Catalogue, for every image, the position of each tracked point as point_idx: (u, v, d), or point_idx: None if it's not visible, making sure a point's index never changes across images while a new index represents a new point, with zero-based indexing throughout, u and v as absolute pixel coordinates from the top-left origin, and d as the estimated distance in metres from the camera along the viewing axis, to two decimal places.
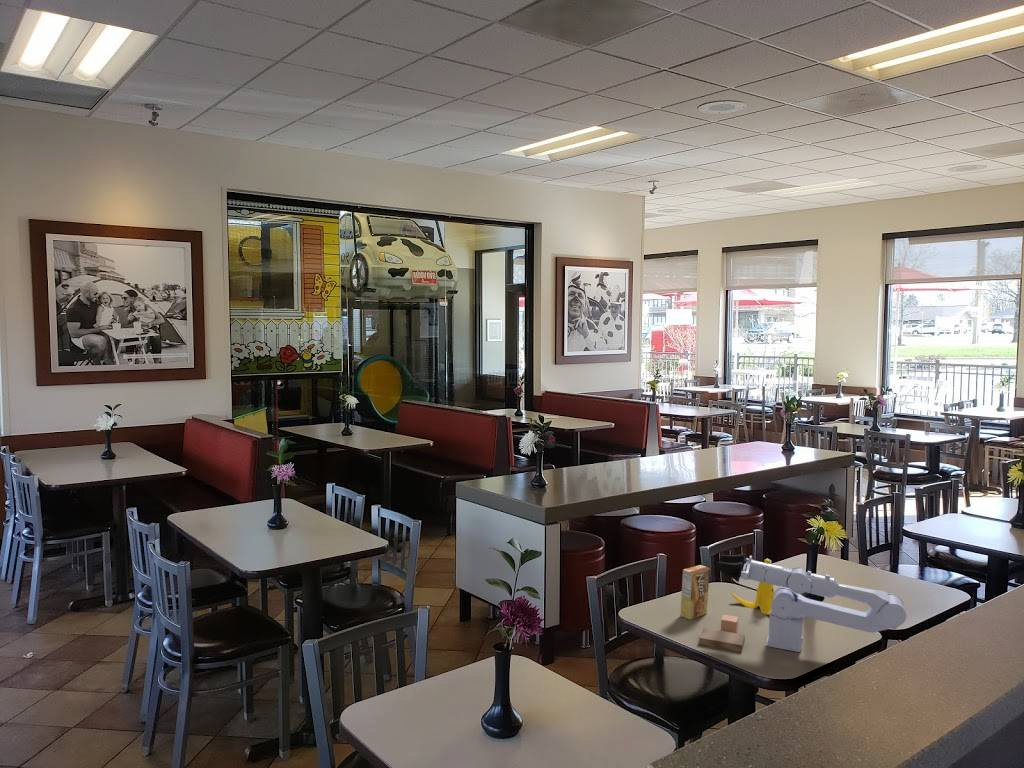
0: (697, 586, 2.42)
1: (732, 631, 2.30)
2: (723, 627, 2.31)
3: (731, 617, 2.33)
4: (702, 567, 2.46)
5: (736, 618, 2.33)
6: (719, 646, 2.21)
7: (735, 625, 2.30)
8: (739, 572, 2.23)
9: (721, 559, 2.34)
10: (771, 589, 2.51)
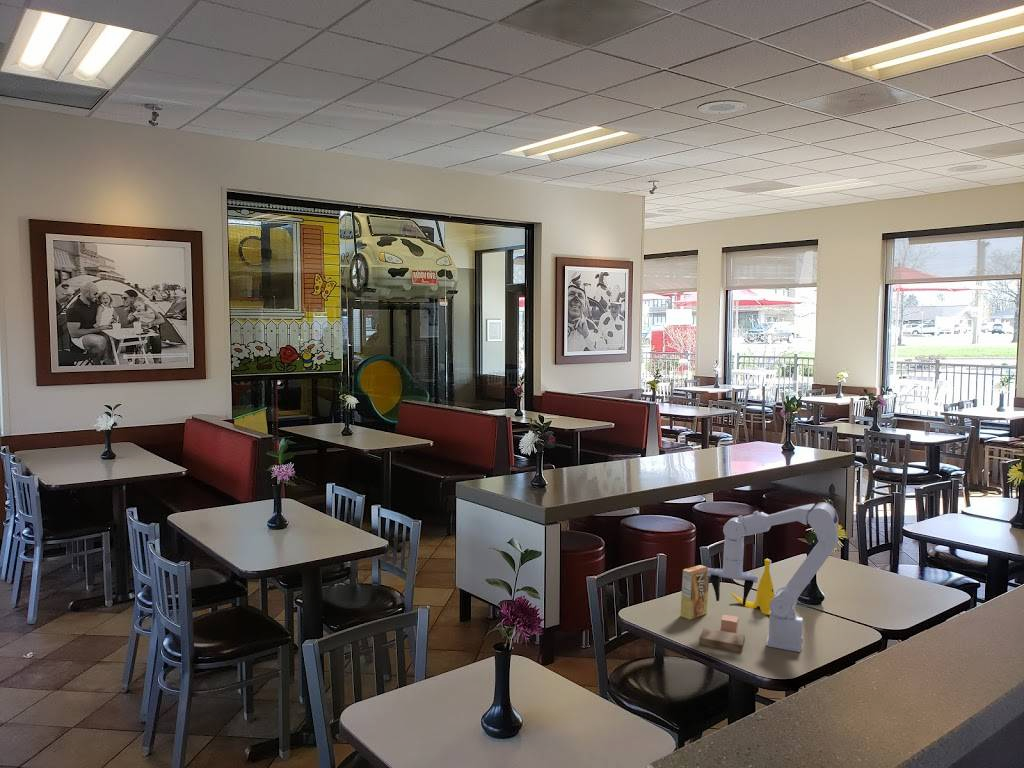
0: (697, 586, 2.42)
1: (732, 631, 2.30)
2: (723, 627, 2.31)
3: (731, 617, 2.33)
4: (702, 567, 2.46)
5: (736, 618, 2.33)
6: (719, 646, 2.21)
7: (735, 625, 2.30)
8: None
9: None
10: (771, 589, 2.51)
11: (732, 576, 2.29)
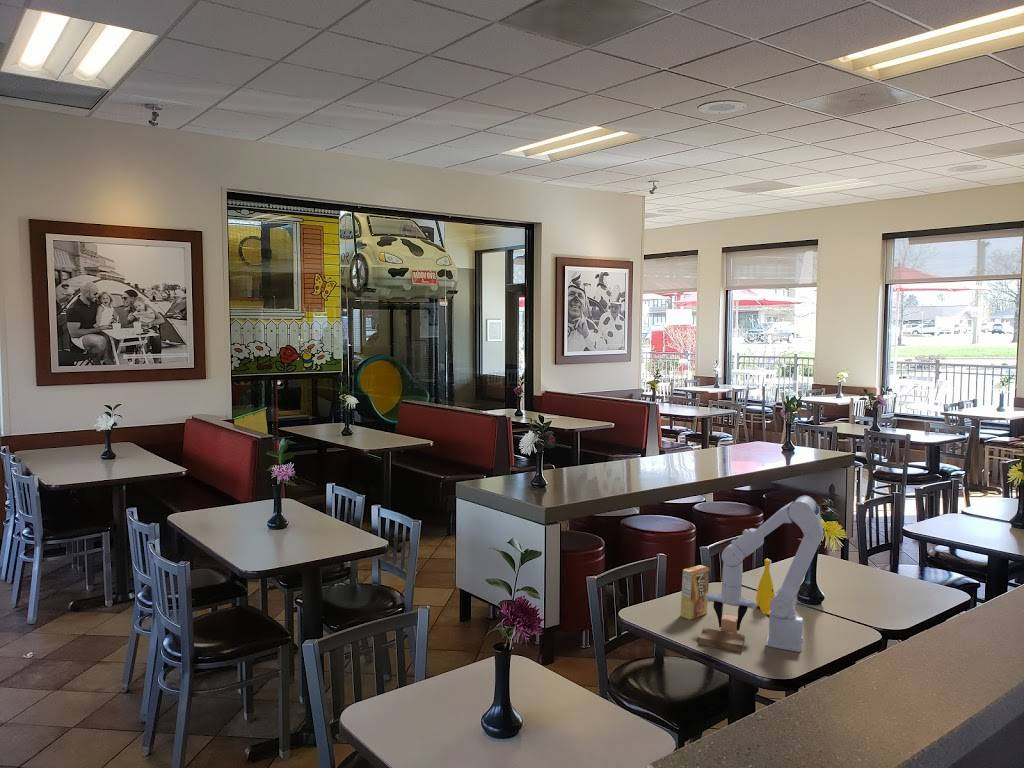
0: (697, 586, 2.42)
1: (732, 631, 2.30)
2: (723, 626, 2.31)
3: (731, 617, 2.33)
4: (702, 567, 2.46)
5: (736, 618, 2.33)
6: (719, 646, 2.21)
7: (735, 625, 2.30)
8: None
9: None
10: (771, 589, 2.51)
11: (731, 602, 2.29)
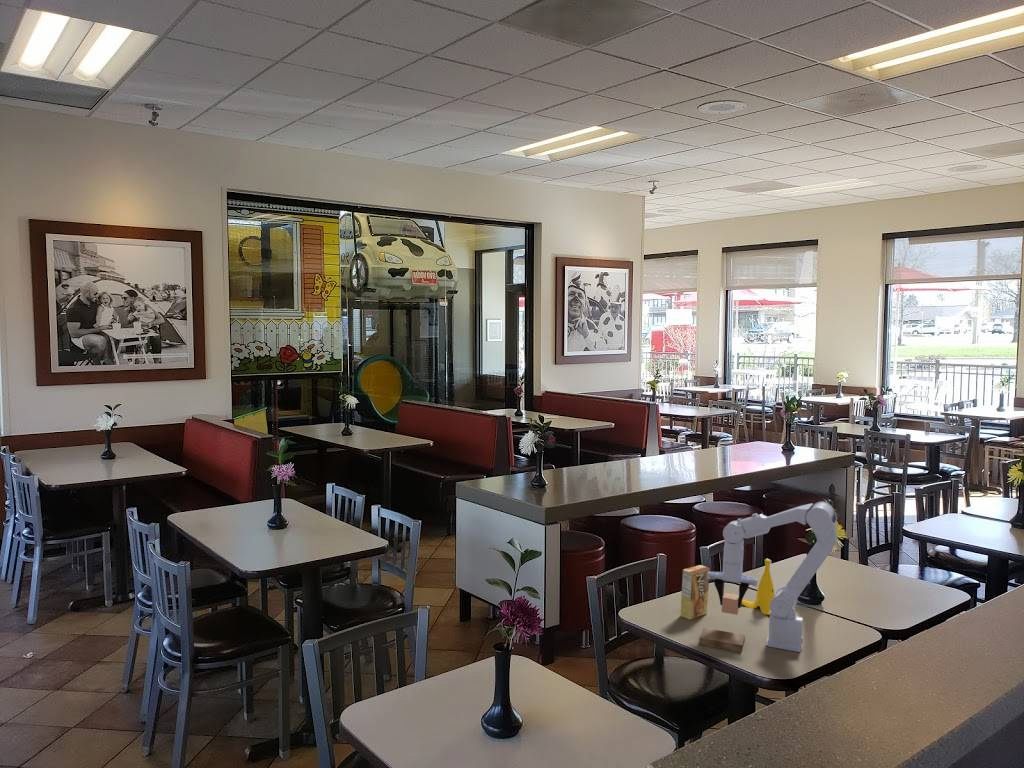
0: (697, 586, 2.42)
1: (733, 609, 2.30)
2: (724, 605, 2.31)
3: (732, 595, 2.33)
4: (702, 567, 2.46)
5: (737, 596, 2.32)
6: (719, 646, 2.21)
7: (736, 603, 2.29)
8: None
9: (738, 605, 2.31)
10: (771, 589, 2.51)
11: (732, 579, 2.29)
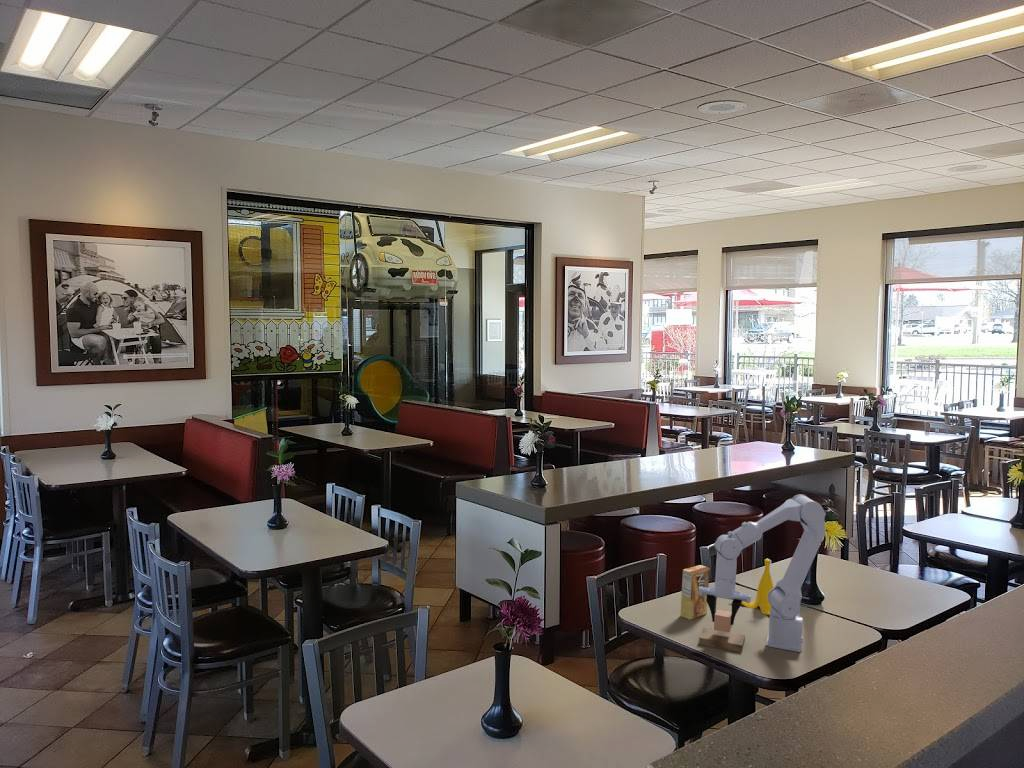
0: (697, 586, 2.42)
1: (726, 627, 2.22)
2: (716, 622, 2.23)
3: (725, 612, 2.25)
4: (702, 567, 2.46)
5: (730, 613, 2.25)
6: (719, 646, 2.21)
7: (729, 620, 2.22)
8: None
9: None
10: (771, 589, 2.51)
11: (724, 596, 2.21)
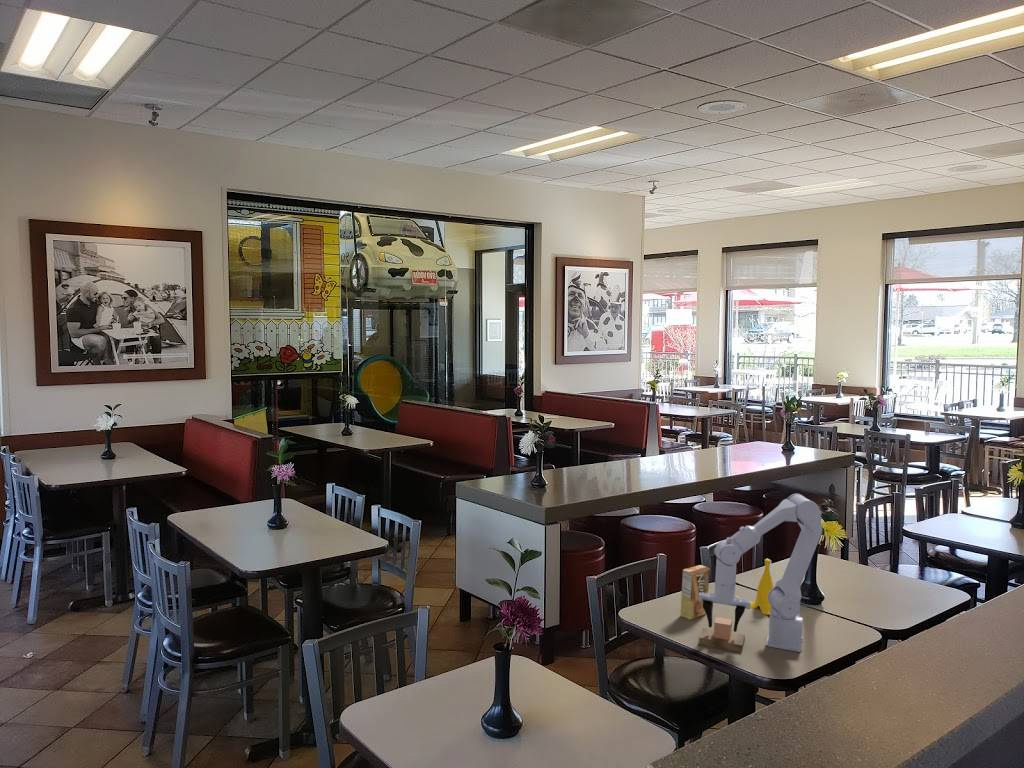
0: (697, 586, 2.42)
1: (726, 634, 2.23)
2: (716, 630, 2.23)
3: (724, 620, 2.25)
4: (702, 567, 2.46)
5: (730, 621, 2.25)
6: (719, 646, 2.21)
7: (729, 628, 2.22)
8: None
9: None
10: (771, 589, 2.51)
11: (724, 602, 2.21)
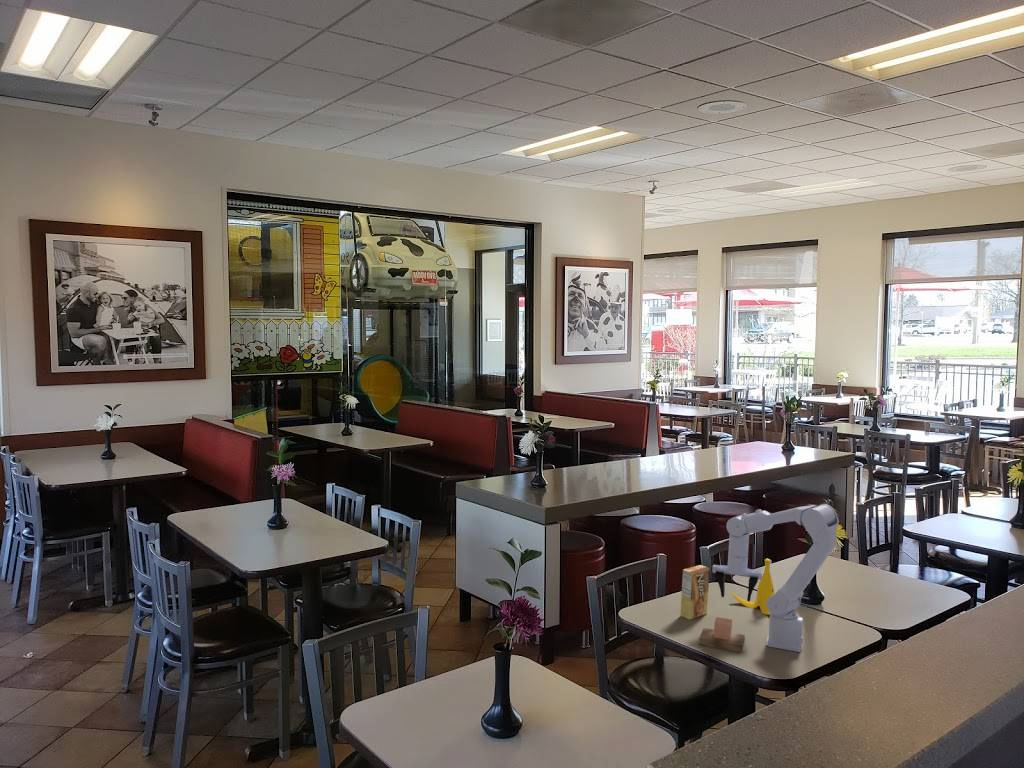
0: (697, 586, 2.42)
1: (726, 634, 2.23)
2: (716, 630, 2.23)
3: (724, 620, 2.25)
4: (702, 567, 2.46)
5: (730, 621, 2.25)
6: (719, 646, 2.21)
7: (729, 628, 2.22)
8: None
9: None
10: (771, 589, 2.51)
11: (737, 573, 2.32)
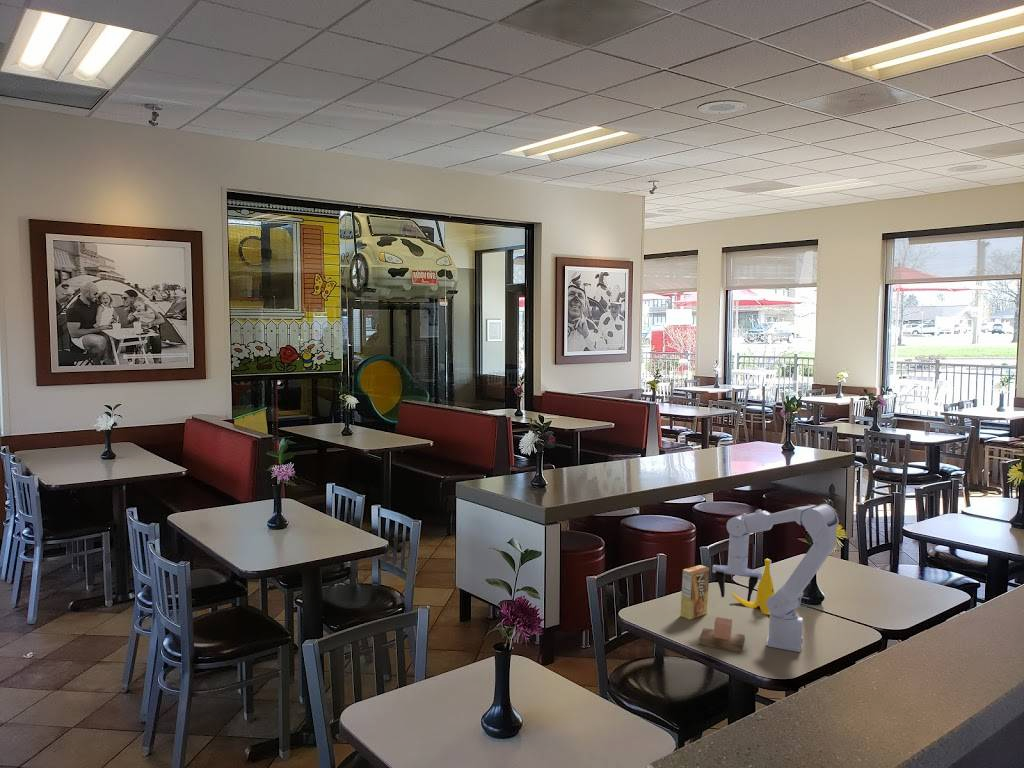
0: (697, 586, 2.42)
1: (726, 634, 2.23)
2: (716, 630, 2.23)
3: (724, 620, 2.25)
4: (702, 567, 2.46)
5: (730, 621, 2.25)
6: (719, 646, 2.21)
7: (729, 628, 2.22)
8: None
9: None
10: (771, 589, 2.51)
11: (737, 573, 2.32)
